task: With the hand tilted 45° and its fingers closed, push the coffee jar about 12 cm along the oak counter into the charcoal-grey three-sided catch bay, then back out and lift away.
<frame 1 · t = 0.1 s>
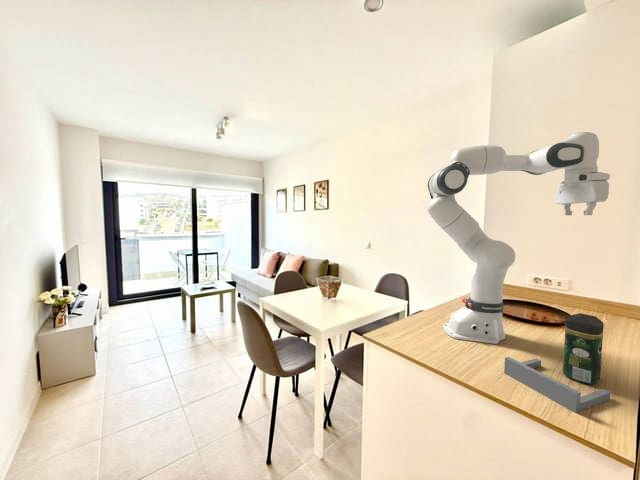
hand: (577, 215, 102), 48 cm above the counter, tool pointing down, fingers open, 8 cm apart
catch bay: (553, 384, 77), on the counter
coffee jar: (580, 376, 81), on the counter
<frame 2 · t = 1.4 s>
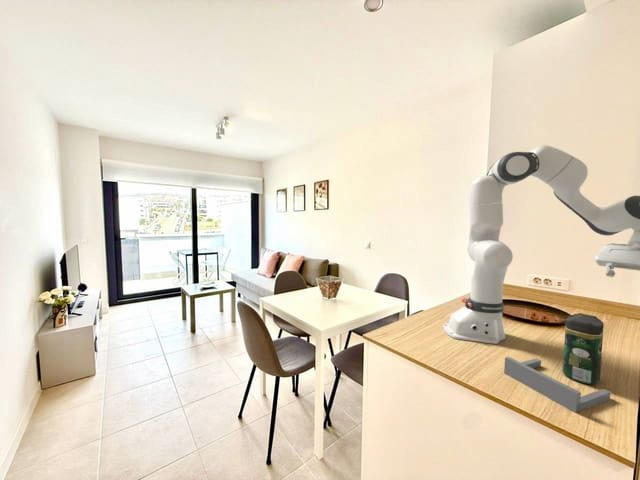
hand: (628, 278, 85), 28 cm above the counter, tool tilted 45°, fingers open, 8 cm apart
nothing on the counter moved.
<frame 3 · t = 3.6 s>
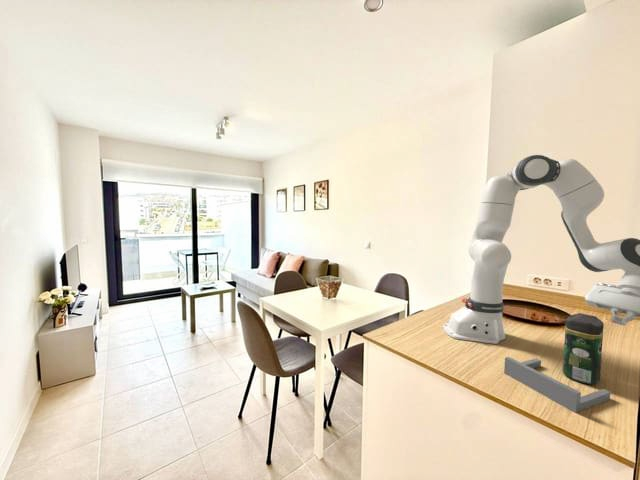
hand: (617, 323, 85), 14 cm above the counter, tool tilted 45°, fingers closed
nothing on the counter moved.
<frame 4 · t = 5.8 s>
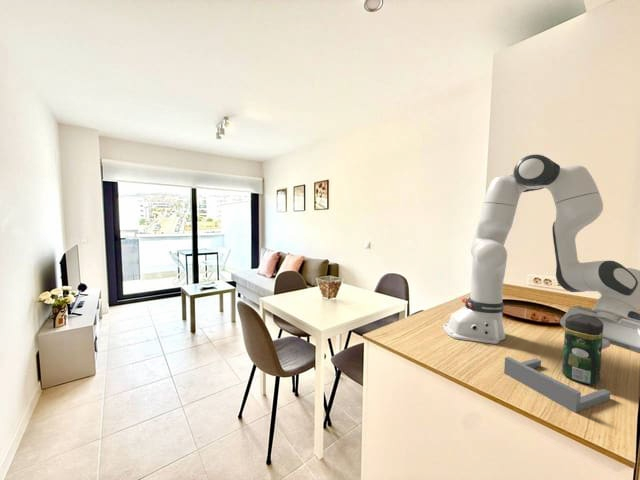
hand: (591, 350, 81), 7 cm above the counter, tool tilted 45°, fingers closed, pressing on coffee jar
coffee jar: (579, 377, 80), on the counter, touching gripper
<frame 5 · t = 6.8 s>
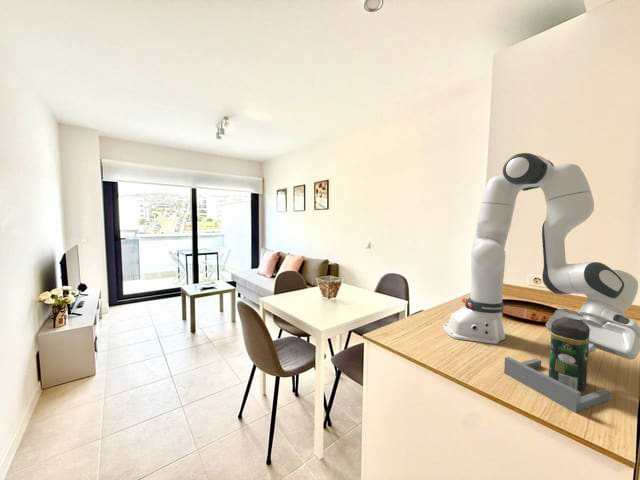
hand: (576, 354, 79), 7 cm above the counter, tool tilted 45°, fingers closed, pressing on coffee jar
coffee jar: (566, 383, 78), on the counter, touching gripper
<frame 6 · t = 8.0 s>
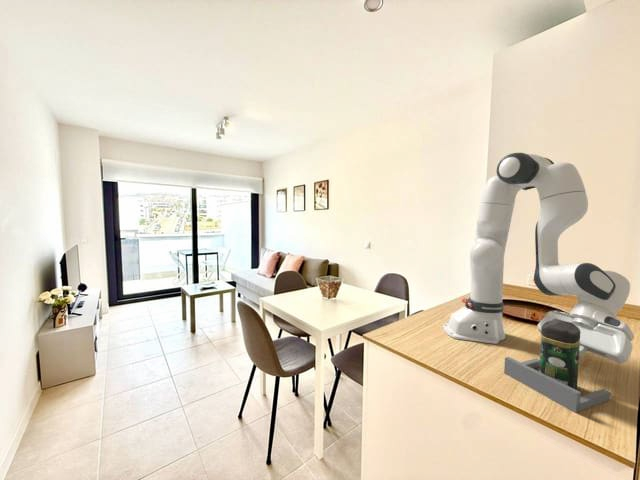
hand: (567, 357, 77), 7 cm above the counter, tool tilted 45°, fingers closed, pressing on coffee jar
coffee jar: (556, 387, 76), on the counter, touching gripper
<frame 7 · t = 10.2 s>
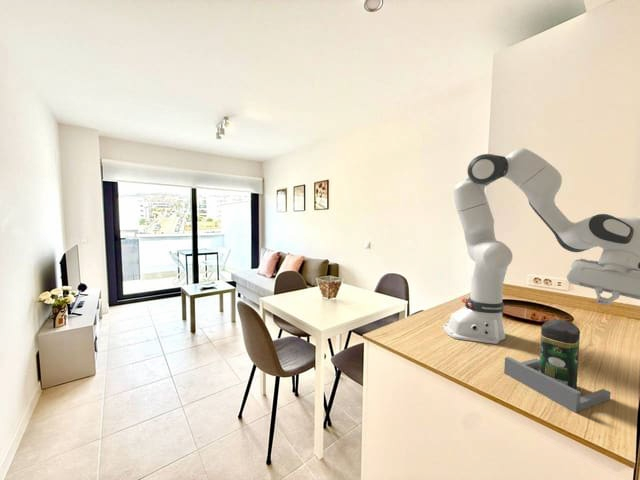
hand: (602, 303, 83), 21 cm above the counter, tool tilted 35°, fingers closed
coffee jar: (556, 387, 76), on the counter
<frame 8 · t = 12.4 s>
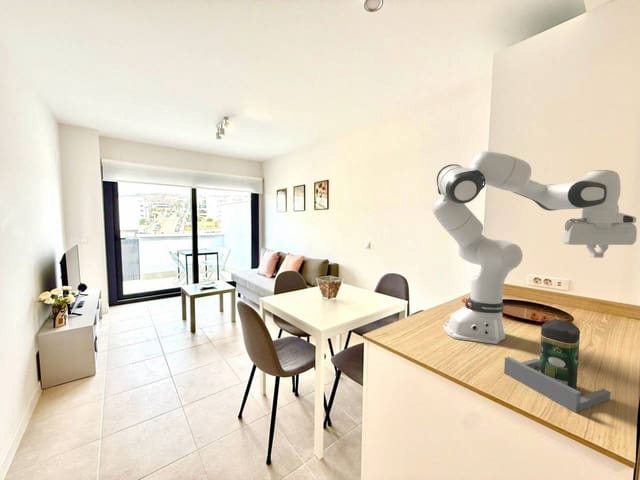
hand: (596, 257, 95), 33 cm above the counter, tool pointing down, fingers closed
nothing on the counter moved.
at the end: coffee jar 0.7 cm from the catch bay (horizontally); coffee jar tilted 0°; coffee jar moved 12.1 cm from its start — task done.
